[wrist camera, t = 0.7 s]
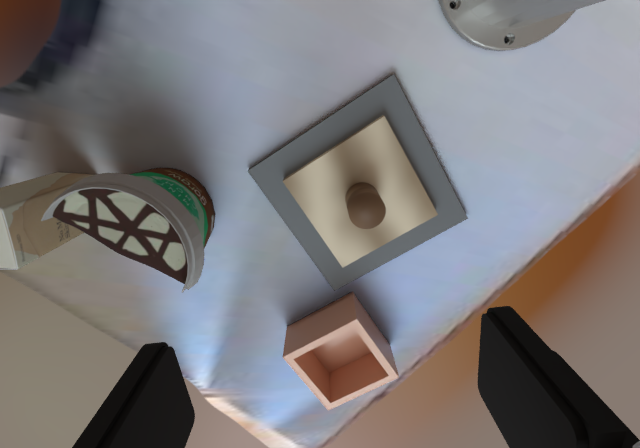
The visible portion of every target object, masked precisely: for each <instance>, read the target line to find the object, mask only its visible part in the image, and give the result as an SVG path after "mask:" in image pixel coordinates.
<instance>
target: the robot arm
mask: <svg viewBox="0 0 640 448" xmlns="http://www.w3.org/2000/svg"><path fill="white" fill-rule="evenodd" d="M438 1H439V4H440V6H441V9H442V12H443V14H444V16H445V18H446V20H447V21H448V23H449V24H450V26H451V27H452V29H453V30H454V31H455V32H456V33H457V34H458V35H459V36H460V37H461V38H463V39H464V40H466V41H467V42H469V43H470V44H472V45H474V46H477V47H480V48H483V49H485V50H494V51H505V50H514V49H518V48H522V47H526V46H528V45H531V44H533V43H536V42H538V41H540V40H542V39H544V38H545V37H547V36H548V35H550V34H552V33H553V32H555V31H556V30H557V29H558V28H559V27H560V26H561V25H563V24H564V23H565V22H566V21H567V20H568V19H569V18H570V17H571V15H572V14H573V13H574V12H575V11H576V10H577V9H580V8H583V7H586V6H589V5H592V4H596V3H599V2H602V1H605V0H438ZM450 3H453V4H454V8H453V9H451V8H450ZM504 38H506V39H507V41H506V43H504ZM478 389H479V392H480V395H481V397H482V399H483V401H484V402H485V404H486V406H487V408H488V410H489V411H490V413H491V415H492V417H493V419H494V420H495V422H496V424H497V426H498V428H499V430H500V431H501V433H502V435H503V437H504V439H505V440H506V442H507V444H508V446H509V447H510V448H640V440H639V439H638V438H637V437H636V436H635V435H634V434H633V433H632V432H631V430H630V429H629V428H628V427H627V426H626V425H625V424H624V423H623V422H622V421H621V420H620V419H619V418H618V417H617V416H616V415H615V413H614V412H613V411H612V410H611V409H610V408H609V407H608V406H607V405H606V404H605V403H604V402H603V401H602V400H601V399H600V398H599V397H598V395H597V394H596V393H595V392H594V391H593V390H592V389H591V388H590V387H589V386H588V385H587V384H586V383H585V382H584V381H583V380H582V379H581V377H579V375H578V374H577V373H576V372H575V371H574V370H573V369H572V368H571V367H570V366H569V365H568V364H567V363H566V362H565V360H564V359H563V358H562V357H561V356H560V355H558V354H557V353H556V352H554V351H552V350H551V349H550V348H549V347H548V346H547V345H546V344H545V343H544V342H543V341H542V339H541V338H540V337H539V336H538V335H537V334H536V333H535V332H534V331H533V330H532V329H531V328H530V327H529V325H528V324H527V323H526V322H525V321H524V320H523V319H522V318H521V317H520V316H519V315H518V314H517V313H516V311H515V310H514V309H513V308H511V307H510V306H504V307H495V308H489V309H488V311H487V313H486V314H483V315H482V318H481V335H480V352H479V369H478ZM194 417H195V414H194V409H193V406H192V403H191V400H190V397H189V394H188V391H187V388H186V385H185V382H184V379H183V376H182V373H181V370H180V366H179V363H178V360H177V357H176V354H175V351H174V349H173V348H172V347H168V344H167V343H165V342H161V343H151V344H145V345H144V346H143V347H142V348H141V349H140V351H139V352H138V354H137V355H136V357H135V358H134V359H133V361H132V362H131V364H130V365H129V367H128V368H127V370H126V371H125V373H124V374H123V375H122V377H121V378H120V380H119V381H118V382H117V384H116V385H115V387H114V388H113V390H112V391H111V392H110V394H109V396H108V397H107V398H106V400H105V401H104V403H103V404H102V405H101V407H100V408H99V410H98V411H97V413H96V414H95V416H94V417H93V418H92V420H91V421H90V423H89V424H88V426H87V427H86V429H85V430H84V432H83V433H82V434H81V436H80V437H79V439H78V440H77V441H76V443H75V444H74V446H73V447H72V448H185V446H186V443H187V440H188V437H189V435H190V432H191V429H192V427H193V424H194V419H195V418H194Z"/></svg>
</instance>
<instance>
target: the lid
mask: <svg viewBox="0 0 640 448" xmlns="http://www.w3.org/2000/svg"><path fill="white" fill-rule="evenodd" d="M283 183H284V184H285V185H286V187H287V188H288V190H289V191H290V193H291V194H292V196H293V197H294V198H295V200H296V201H297V203H298V204H299V206H300V207H301V209H302V210H303V211H304V213H305V214H306V216H307V217H308V219H309V220H310V222H311V223H312V224H313V226H314V227H315V229H316V230H317V232H318V233H319V235H320V236H321V237H322V239H323V240H324V242H325V243H326V245H327V246H328V247H329V249H330V250H331V252H332V253H333V255H334V256H335V258H336V259H337V260H338V262H339V263H340V265H341V266H342V268H343V267H345V266H347V265H349V264H350V263H352V262H354V261H356V260H358V259H359V258H361V257H363V256H365V255H367V254H368V253H370V252H372V251H374V250H376V249H377V248H379V247H381V246H383V245H385V244H386V243H388V242H390V241H392V240H393V239H395V238H397V237H399V236H401V235H402V234H404V233H406V232H408V231H410V230H411V229H413V228H415V227H417V226H419V225H420V224H422V223H424V222H426V221H428V220H429V219H431V218H433V217H435V216H437V215H438V213H437V212H436V210H435V208H434V206H433V204H432V202H431V201H430V199H429V197H428V195H427V193H426V191H425V190H424V188H423V186H422V184H421V182H420V180H419V178H418V177H417V175H416V173H415V171H414V169H413V167H412V166H411V164H410V162H409V160H408V158H407V156H406V155H405V153H404V151H403V149H402V147H401V145H400V144H399V142H398V140H397V138H396V136H395V134H394V133H393V131H392V129H391V127H390V125H389V123H388V121H387V120H386V118H385V116H383V115H382V116H381V117H379V118H378V119H376V120H375V121H373V122H372V123H370V124H368V125H367V126H365V127H364V128H362V129H361V130H359V131H357V132H356V133H354V134H353V135H351V136H350V137H348V138H347V139H345V140H343V141H342V142H340V143H339V144H337V145H336V146H334V147H333V148H331V149H329V150H328V151H326V152H325V153H323V154H322V155H320V156H319V157H317V158H315V159H314V160H312V161H311V162H309V163H308V164H306V165H304V166H303V167H301V168H300V169H298V170H297V171H295V172H294V173H292V174H290V175H289V176H287V177H286V178H284V179H283Z"/></svg>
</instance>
